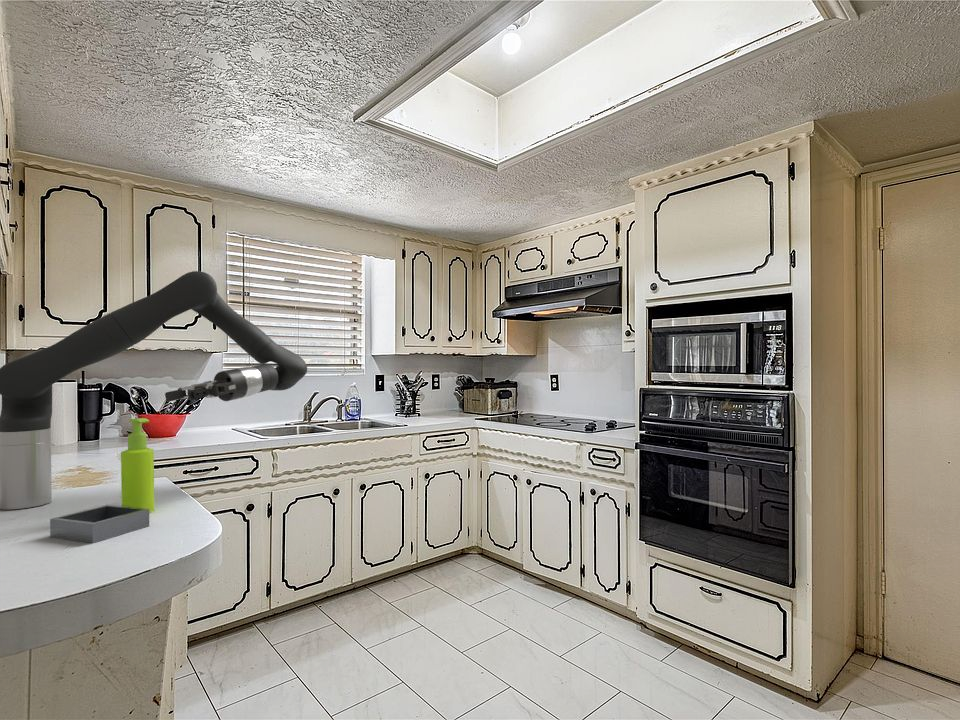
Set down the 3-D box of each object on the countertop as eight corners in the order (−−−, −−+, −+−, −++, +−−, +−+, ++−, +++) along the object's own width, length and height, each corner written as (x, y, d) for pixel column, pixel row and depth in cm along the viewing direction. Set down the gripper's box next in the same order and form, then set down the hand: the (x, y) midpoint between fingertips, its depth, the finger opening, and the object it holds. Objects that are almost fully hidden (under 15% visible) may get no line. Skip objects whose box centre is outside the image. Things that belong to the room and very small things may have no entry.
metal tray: (50, 537, 99) (50, 518, 99) (108, 521, 109) (108, 504, 109) (92, 543, 95) (92, 524, 95) (149, 526, 105) (149, 508, 105)
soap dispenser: (130, 518, 111) (129, 420, 111) (117, 513, 115) (115, 418, 115) (161, 511, 115) (159, 417, 116) (147, 507, 120) (146, 416, 120)
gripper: (218, 370, 140) (155, 381, 126) (255, 366, 133) (193, 378, 119) (223, 398, 141) (162, 413, 127) (260, 396, 134) (199, 411, 120)
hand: (177, 396), depth 123 cm, fingers open, 8 cm apart
